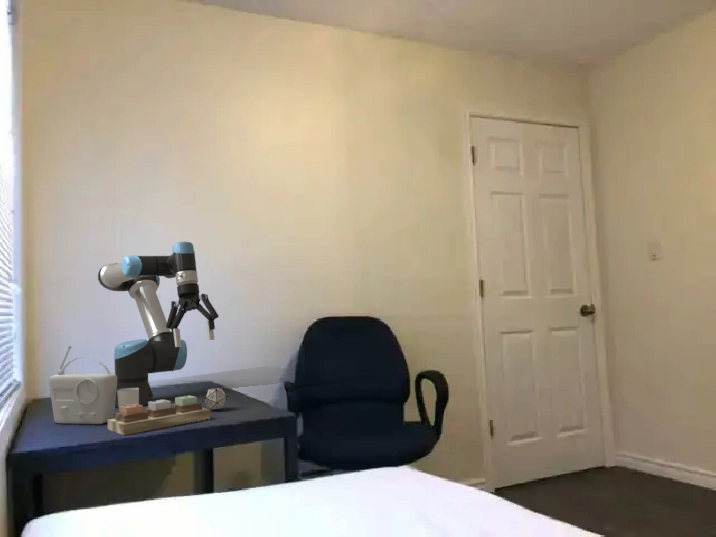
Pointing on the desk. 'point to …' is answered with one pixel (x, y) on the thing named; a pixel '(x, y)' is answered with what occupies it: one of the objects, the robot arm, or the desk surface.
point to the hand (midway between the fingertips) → (194, 343)
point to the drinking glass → (128, 396)
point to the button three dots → (131, 409)
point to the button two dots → (159, 404)
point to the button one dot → (185, 400)
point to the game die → (215, 398)
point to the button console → (157, 418)
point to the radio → (83, 396)
